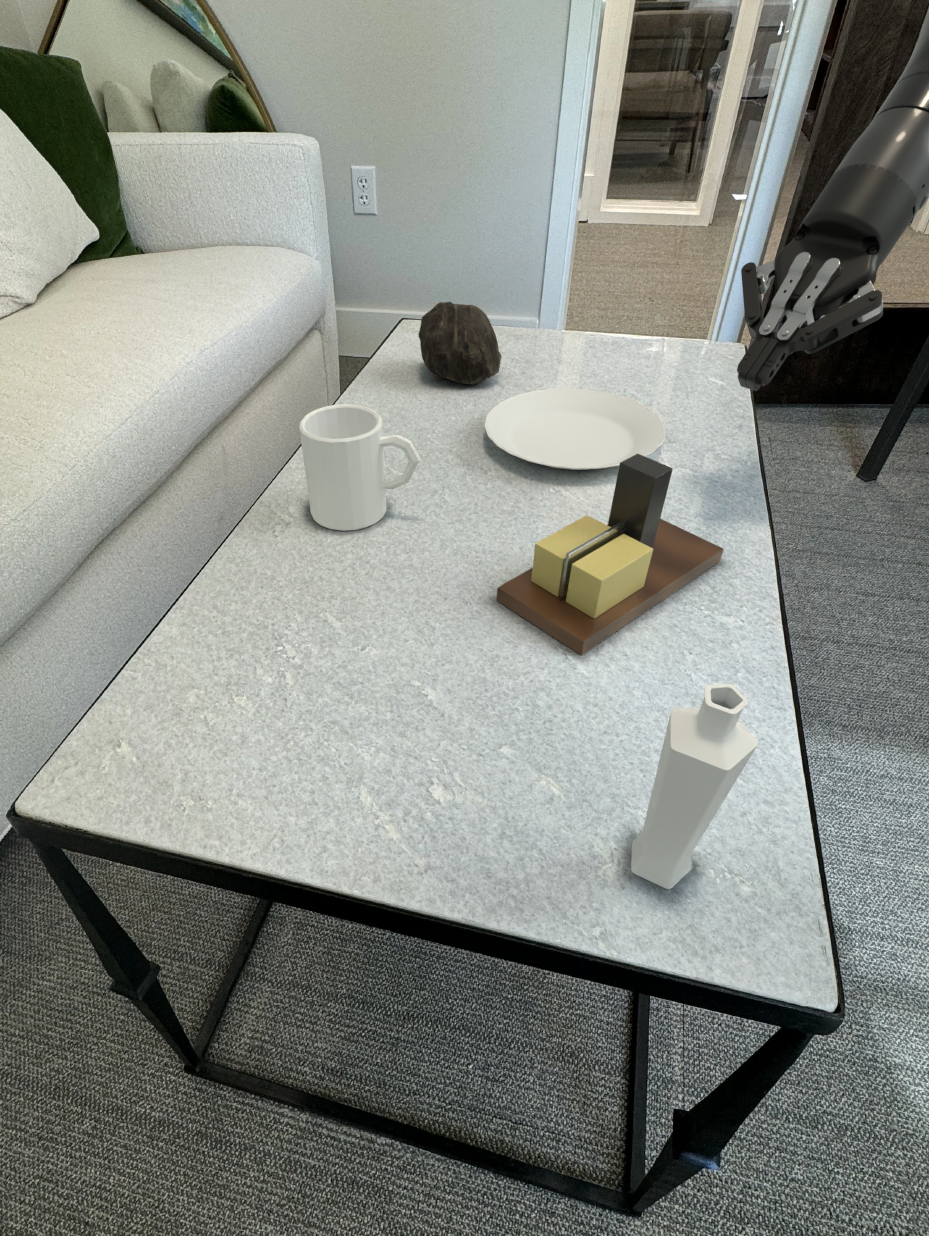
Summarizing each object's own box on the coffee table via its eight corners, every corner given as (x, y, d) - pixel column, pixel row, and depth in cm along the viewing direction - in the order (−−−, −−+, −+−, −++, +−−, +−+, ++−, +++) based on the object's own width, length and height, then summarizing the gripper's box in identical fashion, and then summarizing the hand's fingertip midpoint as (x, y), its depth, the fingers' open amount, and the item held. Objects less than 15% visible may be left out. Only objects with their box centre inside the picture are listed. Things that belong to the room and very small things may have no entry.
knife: (618, 543, 69) (637, 453, 62) (649, 560, 67) (673, 468, 60) (545, 587, 64) (557, 494, 58) (576, 606, 62) (593, 512, 56)
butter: (580, 551, 69) (586, 514, 66) (644, 586, 64) (653, 548, 62) (530, 580, 66) (535, 543, 63) (594, 619, 62) (601, 580, 59)
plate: (652, 407, 93) (656, 390, 91) (669, 491, 78) (674, 472, 77) (489, 402, 96) (490, 385, 94) (477, 482, 81) (478, 463, 80)
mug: (410, 541, 73) (407, 449, 66) (299, 525, 76) (286, 435, 69) (430, 500, 79) (430, 411, 72) (327, 487, 81) (317, 400, 74)
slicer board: (634, 520, 75) (637, 507, 74) (719, 562, 69) (724, 548, 68) (496, 600, 66) (497, 587, 65) (581, 655, 61) (583, 642, 60)
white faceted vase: (705, 849, 47) (785, 685, 37) (684, 902, 45) (763, 741, 34) (637, 819, 49) (693, 654, 38) (613, 868, 46) (666, 705, 36)
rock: (498, 388, 96) (493, 304, 90) (416, 395, 99) (405, 314, 93) (507, 367, 104) (502, 288, 98) (430, 374, 107) (421, 298, 101)
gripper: (793, 150, 61) (672, 341, 65) (960, 170, 54) (813, 384, 57) (804, 213, 67) (692, 384, 71) (955, 239, 60) (822, 428, 63)
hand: (747, 384), depth 64 cm, fingers closed
